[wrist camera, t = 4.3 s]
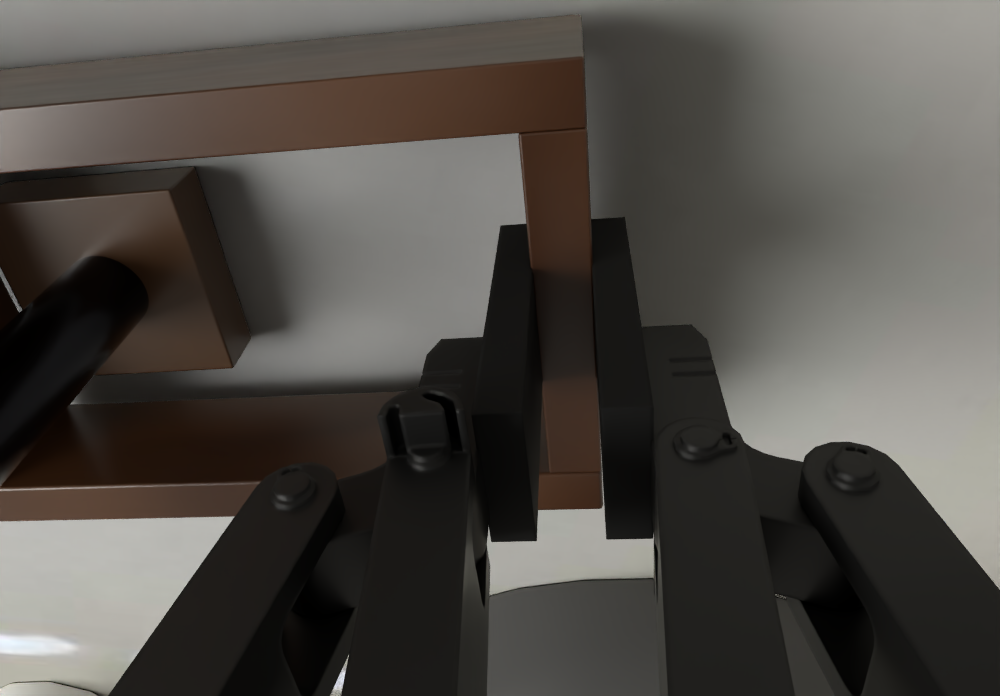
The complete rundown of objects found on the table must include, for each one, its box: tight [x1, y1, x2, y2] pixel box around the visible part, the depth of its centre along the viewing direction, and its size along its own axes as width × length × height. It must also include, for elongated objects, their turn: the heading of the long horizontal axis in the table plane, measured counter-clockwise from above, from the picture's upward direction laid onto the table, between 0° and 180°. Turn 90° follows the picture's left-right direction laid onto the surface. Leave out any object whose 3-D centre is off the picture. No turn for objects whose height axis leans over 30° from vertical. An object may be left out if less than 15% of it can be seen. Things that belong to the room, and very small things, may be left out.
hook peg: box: [0, 167, 251, 486], centre depth 16 cm, size 5×5×11 cm
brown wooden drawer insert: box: [0, 14, 603, 521], centre depth 18 cm, size 16×10×4 cm, turn 96°
